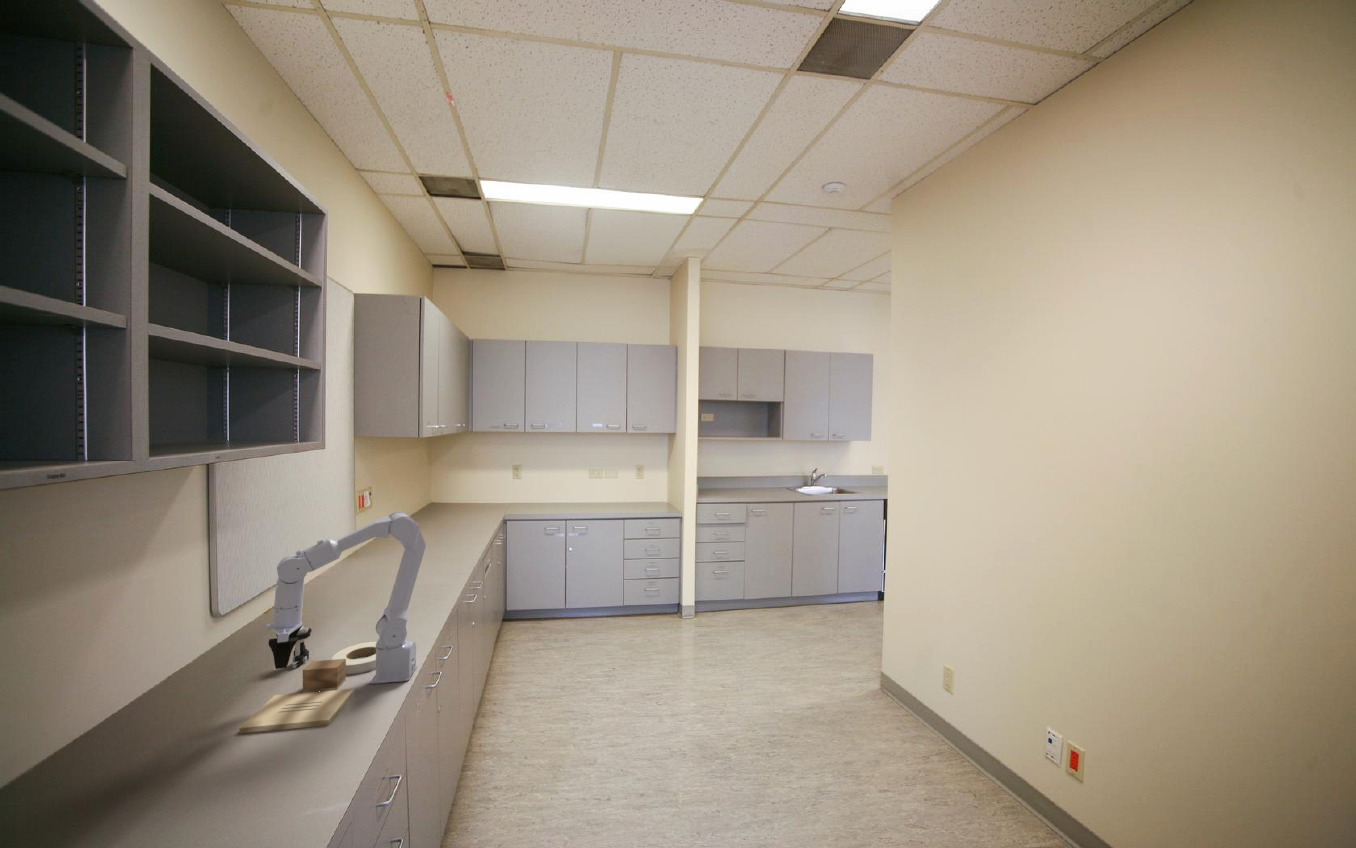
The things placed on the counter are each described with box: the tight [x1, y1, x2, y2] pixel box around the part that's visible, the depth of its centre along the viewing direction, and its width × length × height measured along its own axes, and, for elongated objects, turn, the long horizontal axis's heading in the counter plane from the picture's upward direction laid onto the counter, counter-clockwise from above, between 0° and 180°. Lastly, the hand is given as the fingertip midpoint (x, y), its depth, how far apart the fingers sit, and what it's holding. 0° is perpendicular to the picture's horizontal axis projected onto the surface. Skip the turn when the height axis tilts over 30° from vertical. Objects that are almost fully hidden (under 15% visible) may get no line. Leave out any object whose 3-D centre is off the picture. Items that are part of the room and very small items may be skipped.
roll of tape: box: [330, 641, 378, 675], centre depth 151 cm, size 16×15×3 cm
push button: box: [291, 625, 313, 669], centre depth 148 cm, size 7×5×10 cm
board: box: [238, 688, 355, 734], centre depth 124 cm, size 18×14×1 cm
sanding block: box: [302, 659, 347, 693], centre depth 136 cm, size 8×5×6 cm, turn 101°
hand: (283, 661), depth 128 cm, fingers open, 7 cm apart
